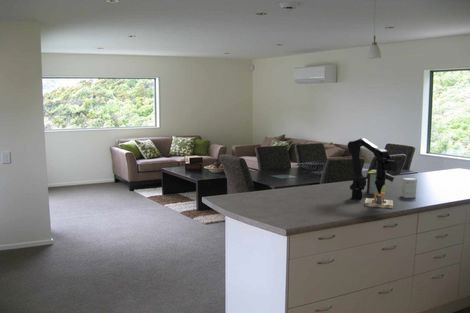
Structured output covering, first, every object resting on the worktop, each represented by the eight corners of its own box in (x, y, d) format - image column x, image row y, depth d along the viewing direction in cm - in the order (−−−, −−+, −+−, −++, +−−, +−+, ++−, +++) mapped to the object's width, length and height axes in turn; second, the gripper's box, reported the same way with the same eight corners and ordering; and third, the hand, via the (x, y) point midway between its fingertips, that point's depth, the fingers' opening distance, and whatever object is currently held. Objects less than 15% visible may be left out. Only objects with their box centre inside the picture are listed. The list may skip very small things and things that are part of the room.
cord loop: (373, 200, 319) (374, 186, 318) (374, 199, 322) (374, 185, 321) (384, 201, 318) (385, 187, 316) (384, 200, 320) (385, 186, 319)
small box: (411, 195, 349) (413, 177, 348) (415, 197, 343) (417, 179, 341) (400, 195, 348) (401, 177, 347) (404, 197, 342) (405, 179, 340)
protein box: (385, 191, 362) (386, 170, 360) (381, 195, 349) (382, 173, 347) (370, 190, 367) (372, 169, 365) (366, 193, 354) (367, 172, 351)
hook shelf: (364, 205, 316) (365, 197, 315) (365, 200, 330) (366, 192, 329) (392, 208, 311) (393, 199, 310) (392, 203, 325) (393, 195, 324)
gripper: (394, 172, 306) (392, 197, 308) (394, 168, 323) (392, 191, 326) (375, 171, 309) (374, 195, 311) (376, 166, 327) (375, 189, 329)
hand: (379, 193), depth 319 cm, fingers closed on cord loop, 3 cm apart
